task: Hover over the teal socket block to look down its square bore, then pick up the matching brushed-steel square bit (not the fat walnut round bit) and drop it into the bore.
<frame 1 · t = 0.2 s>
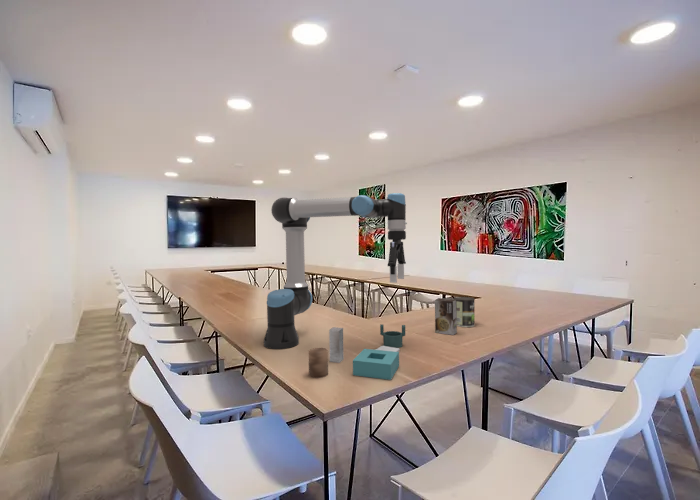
hand: (397, 280, 146), 28 cm above the table, fingers open, 13 cm apart
socket block: (376, 370, 119), on the table
round bit: (318, 373, 117), on the table
square bit: (336, 360, 130), on the table
bracket: (393, 345, 148), on the table
coffee box: (446, 333, 167), on the table
coffee can: (464, 325, 181), on the table
external hard drive: (383, 355, 137), on the table
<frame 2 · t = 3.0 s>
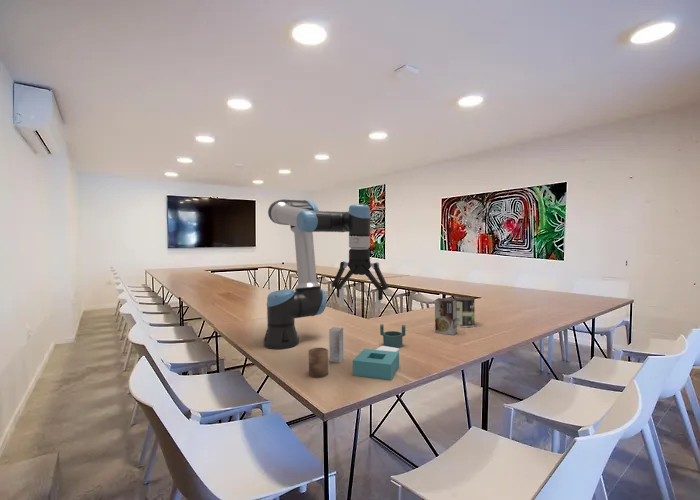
hand: (359, 308, 123), 21 cm above the table, fingers open, 13 cm apart
nothing on the table moved.
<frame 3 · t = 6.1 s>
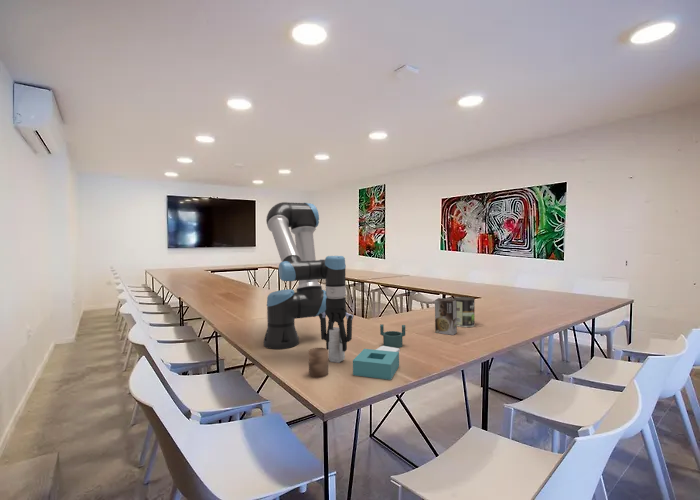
hand: (336, 358, 130), 1 cm above the table, fingers closed on square bit, 4 cm apart
square bit: (336, 360, 130), on the table, touching gripper
everything else where it was.
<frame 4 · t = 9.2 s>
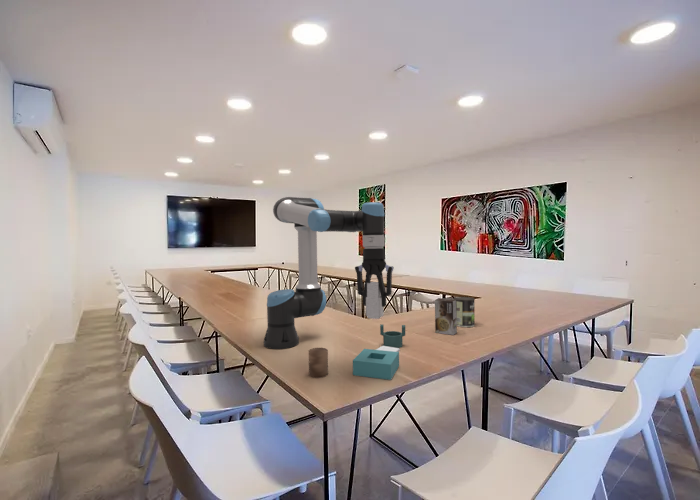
hand: (374, 315, 119), 19 cm above the table, fingers closed on square bit, 4 cm apart
square bit: (374, 317, 119), point 18 cm above the table, touching gripper
everything else where it was.
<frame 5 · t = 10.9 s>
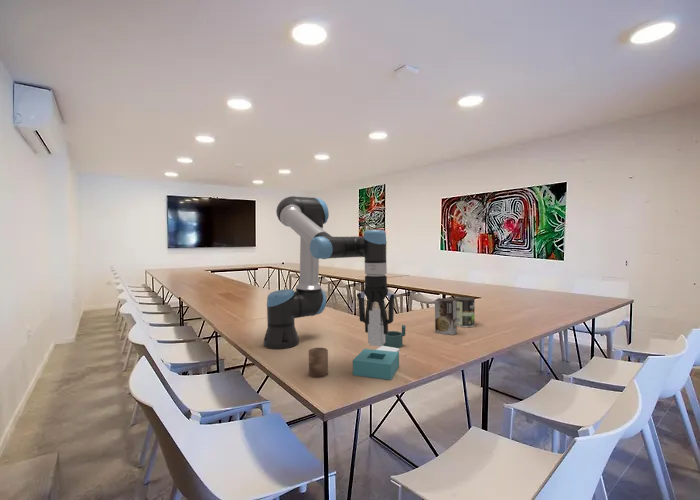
hand: (376, 342, 119), 10 cm above the table, fingers closed on square bit, 4 cm apart
square bit: (376, 344, 119), point 9 cm above the table, touching gripper
everything else where it was.
when the fingers open (7 cm above the table, at t = 12.5 s): square bit drops 5 cm, resting on socket block.
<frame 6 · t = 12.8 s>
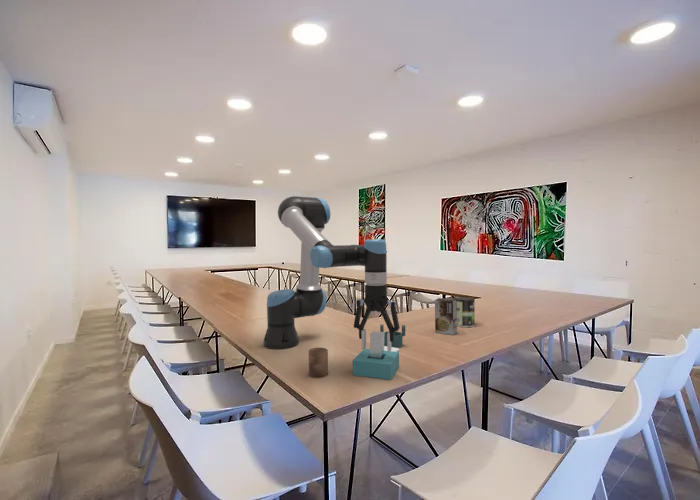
hand: (376, 349, 119), 7 cm above the table, fingers open, 8 cm apart
square bit: (376, 367, 119), point 1 cm above the table, touching socket block
everything else where it was.
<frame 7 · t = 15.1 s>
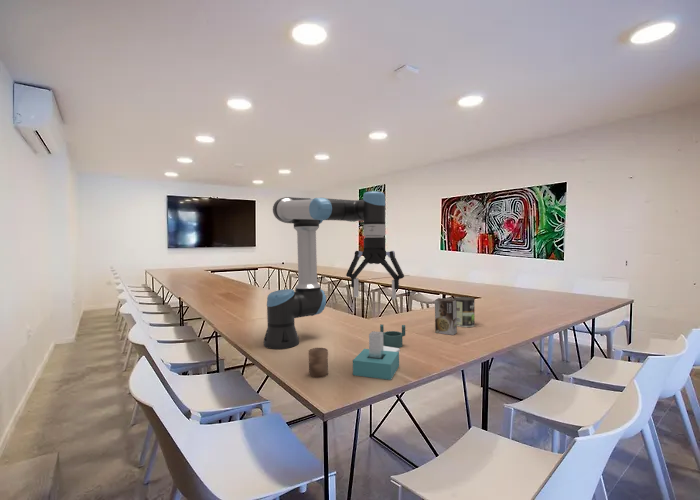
hand: (374, 298, 120), 25 cm above the table, fingers open, 13 cm apart
nothing on the table moved.
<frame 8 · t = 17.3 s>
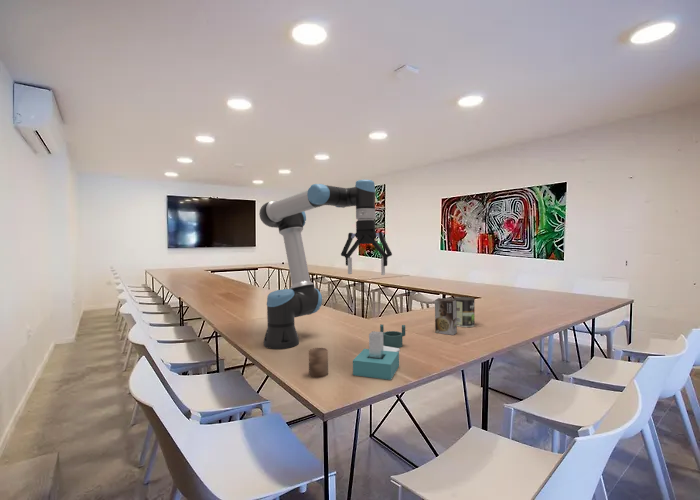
hand: (366, 274, 135), 32 cm above the table, fingers open, 13 cm apart
nothing on the table moved.
at the end: square bit 0.1 cm off-centre on the socket block, point 1.0 cm above the socket block's base; square bit tilted 0°; round bit moved 0.1 cm from its start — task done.
